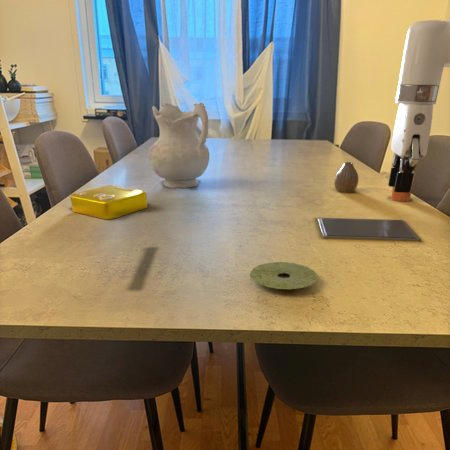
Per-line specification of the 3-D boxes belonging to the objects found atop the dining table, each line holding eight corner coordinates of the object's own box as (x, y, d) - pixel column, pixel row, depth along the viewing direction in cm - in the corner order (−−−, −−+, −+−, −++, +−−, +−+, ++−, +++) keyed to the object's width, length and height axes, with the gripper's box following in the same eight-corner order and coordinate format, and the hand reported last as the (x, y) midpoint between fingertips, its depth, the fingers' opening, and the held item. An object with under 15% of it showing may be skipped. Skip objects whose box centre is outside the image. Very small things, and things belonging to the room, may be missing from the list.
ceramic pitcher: (225, 185, 145) (227, 104, 135) (198, 193, 129) (198, 102, 119) (170, 180, 153) (168, 103, 143) (137, 187, 137) (133, 101, 127)
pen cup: (406, 199, 124) (411, 170, 121) (411, 203, 120) (417, 174, 116) (388, 198, 125) (393, 170, 121) (392, 203, 120) (398, 174, 117)
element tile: (150, 207, 117) (149, 189, 115) (108, 220, 106) (106, 201, 104) (112, 199, 125) (110, 182, 122) (69, 211, 114) (66, 193, 111)
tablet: (401, 224, 103) (402, 219, 103) (419, 244, 91) (420, 239, 90) (317, 221, 105) (317, 217, 105) (323, 240, 93) (323, 236, 92)
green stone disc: (246, 297, 69) (246, 286, 68) (253, 269, 79) (253, 259, 78) (317, 302, 67) (318, 290, 67) (315, 273, 77) (316, 263, 76)
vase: (357, 195, 128) (362, 165, 124) (334, 194, 129) (337, 164, 125) (355, 190, 134) (359, 161, 130) (332, 189, 135) (335, 160, 131)
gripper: (452, 97, 77) (429, 199, 85) (423, 94, 92) (405, 181, 100) (408, 97, 77) (390, 198, 86) (387, 94, 92) (372, 180, 101)
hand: (398, 188), depth 93 cm, fingers open, 4 cm apart
